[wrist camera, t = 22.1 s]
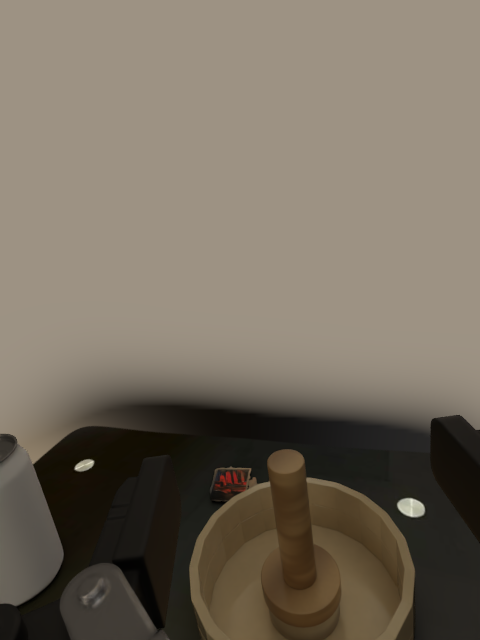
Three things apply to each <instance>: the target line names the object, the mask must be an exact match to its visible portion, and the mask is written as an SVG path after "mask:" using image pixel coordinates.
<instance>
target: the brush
mask: <svg viewBox="0 0 480 640" xmlns="http://www.w3.org/2000/svg"><path fill="white" fill-rule="evenodd" d="M267 466H268V473H269V480H270V487H271V494H272V501H273V508H274V515H275V522H276V529H277V536H278V543H279V547H278V548H276V549H275V550H274V551H272V552H271V553H270V554H269V556H268V557H267V558H266V560H265V562H264V564H263V567H262V571H261V584H262V590H263V595H264V599H265V602H266V604H267V607H268V608H269V613H270V618H271V620H272V623H273V625H274V626H275V628H276V629H277V630H278V632H279V633H280V634H281V635H282V636H284V637H285V638H286V639H288V640H324V639H326V638H327V637H328V636H329V635H330V634H331V633H332V632H333V631H334V629H335V628H336V626H337V624H338V621H339V617H340V600H341V592H342V591H341V579H340V571H339V568H338V565H337V563H336V562H335V560H334V559H333V557H332V556H331V555H330V554H329V553H328V552H327V551H326V550H325V549H323V548H322V547H320V546H318V545H316V544H313V535H312V526H311V516H310V507H309V498H308V489H307V480H306V470H305V461H304V458H303V456H302V455H301V454H300V453H299V452H297V451H294V450H288V449H285V450H280V451H277V452H275V453H273V454H272V455H271V456H270V457H269V458H268V461H267Z"/></svg>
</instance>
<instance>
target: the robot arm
mask: <svg viewBox="0 0 480 640" xmlns="http://www.w3.org/2000/svg"><path fill="white" fill-rule="evenodd" d="M430 460H431V468H432V471H433V474H434V477H435V479H436V481H437V483H438V484H439V486H440V487H441V488H442V490H443V491H444V493H445V494H446V496H447V497H448V498H449V500H450V501H451V503H452V504H453V506H454V507H455V508H456V510H457V511H458V513H459V514H460V516H461V517H462V518H463V520H464V521H465V523H466V524H467V526H468V527H469V528H470V530H471V531H472V533H473V534H474V535H475V537H476V538H477V540H478V541H479V543H480V430H475V429H474V428H473V427H472V426H471V425H470V424H469V423H468V422H467V421H466V420H465V419H464V418H463V417H462V416H460V415H454V416H448V417H440V418H434V419H432V421H431V457H430ZM180 519H181V499H180V494H179V489H178V485H177V481H176V477H175V473H174V469H173V465H172V461H171V458H170V456H169V455H164V456H157V457H150V458H145V459H144V460H143V462H142V466H141V469H140V472H139V475H138V477H131V478H128V479H127V480H126V481H125V482H124V483H123V484H122V486H121V487H120V488H119V489H118V490H117V492H116V494H115V497H114V500H113V502H112V505H111V509H110V511H109V513H108V516H107V521H105V524H104V527H103V529H102V532H101V535H100V537H99V540H98V543H97V546H96V548H95V551H94V554H93V556H92V559H91V562H90V564H89V567H88V568H86V569H85V570H83V571H82V572H80V573H79V574H78V575H76V576H75V577H74V578H73V579H72V580H71V581H70V583H69V584H68V585H67V587H66V588H65V590H64V592H63V594H62V596H61V598H60V599H58V600H56V601H54V602H52V603H50V604H48V605H45V606H43V607H41V608H38V609H36V610H34V611H31V612H29V613H27V614H24V615H22V616H21V614H20V612H19V610H18V608H17V607H16V606H14V605H12V604H7V603H4V604H0V640H170V639H169V638H168V636H167V635H166V633H165V632H164V631H163V630H162V629H159V628H164V627H165V620H166V614H167V607H168V600H169V593H170V587H171V580H172V573H173V566H174V560H175V553H176V546H177V539H178V533H179V526H180ZM157 629H159V630H157Z"/></svg>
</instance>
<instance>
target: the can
mask: <svg viewBox="0 0 480 640" xmlns="http://www.w3.org/2000/svg"><path fill="white" fill-rule="evenodd" d="M63 555H64V553H63V548H62V545H61V542H60V539H59V536H58V533H57V530H56V528H55V525H54V522H53V519H52V516H51V514H50V511H49V508H48V505H47V502H46V500H45V497H44V494H43V491H42V489H41V486H40V483H39V481H38V478H37V475H36V472H35V470H34V467H33V464H32V462H31V459H30V457H29V454H28V453H27V451H26V450H25V449H24V448H23V447H21V446H20V445H19V444H17V439H16V437H14V436H13V435H10V434H0V604H4V603H7V604H12V605H14V606H16V607H17V606H19V605H22V604H24V603H26V602H28V601H29V600H31V599H33V598H34V597H35V596H37V595H38V594H39V593H41V592H42V591H43V590H44V589H45V588H46V587H47V586H48V585H49V584H50V583H51V582H52V581H53V579H54V578H55V576H56V574H57V572H58V570H59V568H60V566H61V564H62V561H63Z"/></svg>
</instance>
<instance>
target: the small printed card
mask: <svg viewBox="0 0 480 640" xmlns="http://www.w3.org/2000/svg"><path fill="white" fill-rule="evenodd" d="M214 471H215V474H214V476H213V483H212V486H211V487H210V495H211V501H212V500H215V501H229V500H230V499H231V498H233V497H234V496H236V495H238V494H240V493H242V492H244V491H246V490H247V488H248V487H247V486H249V488H251V487H253V486H255V485H257V481H256V478H255V477H254V478H253V480H249V479H250V475H249V474H250V472H251V468H233V467H231V466H230V468H220V469H216V470H214Z"/></svg>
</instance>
